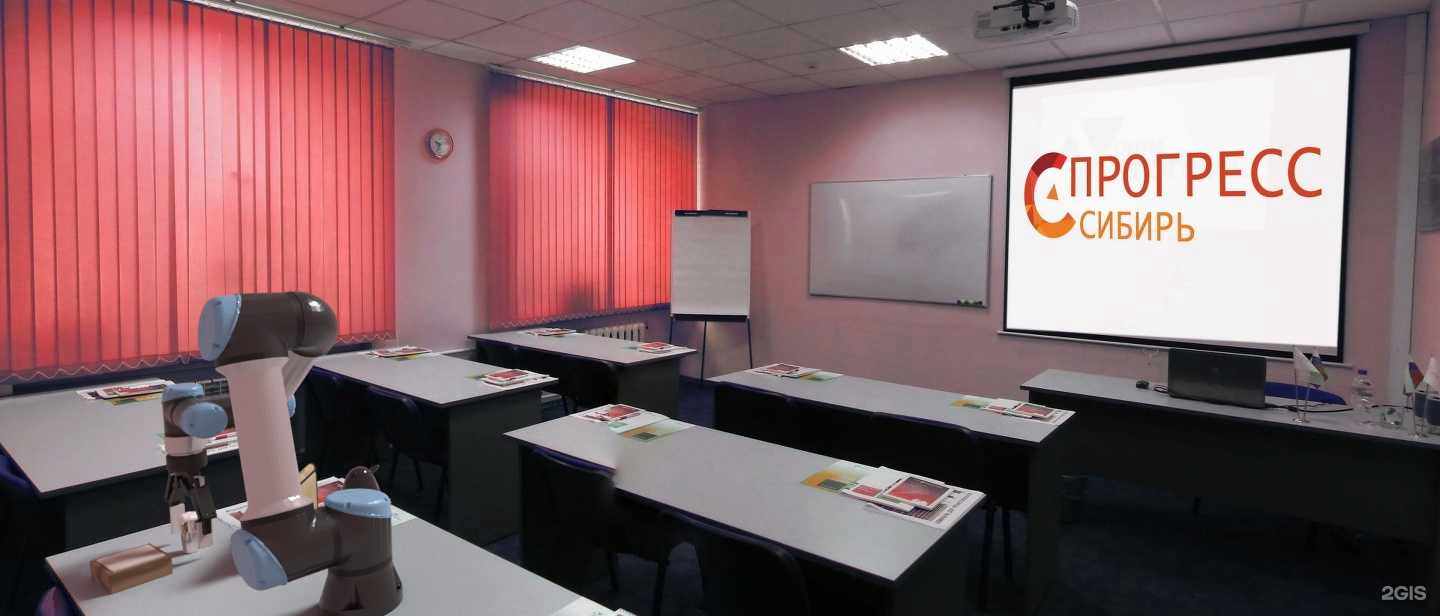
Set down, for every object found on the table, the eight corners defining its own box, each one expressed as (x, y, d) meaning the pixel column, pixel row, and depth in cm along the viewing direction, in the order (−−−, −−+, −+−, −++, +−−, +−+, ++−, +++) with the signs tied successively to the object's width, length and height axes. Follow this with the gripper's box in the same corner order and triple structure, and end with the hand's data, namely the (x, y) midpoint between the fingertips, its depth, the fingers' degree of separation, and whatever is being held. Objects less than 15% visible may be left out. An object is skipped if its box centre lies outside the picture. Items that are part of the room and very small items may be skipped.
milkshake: (193, 556, 161) (190, 514, 160) (174, 553, 162) (171, 512, 161) (211, 547, 166) (209, 506, 165) (192, 545, 167) (189, 504, 166)
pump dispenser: (392, 522, 182) (390, 465, 180) (353, 536, 173) (350, 476, 171) (369, 513, 187) (367, 457, 186) (330, 526, 179) (327, 468, 177)
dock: (172, 573, 154) (171, 554, 153) (112, 593, 145) (110, 574, 144) (150, 560, 159) (149, 541, 159) (91, 579, 150) (89, 560, 150)
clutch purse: (292, 517, 184) (289, 462, 182) (321, 516, 185) (319, 460, 183) (239, 572, 155) (235, 507, 153) (274, 570, 156) (271, 505, 154)
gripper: (231, 457, 158) (236, 547, 161) (180, 437, 171) (186, 520, 174) (192, 466, 152) (198, 560, 154) (143, 444, 165) (149, 531, 167)
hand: (192, 539), depth 164 cm, fingers open, 13 cm apart
